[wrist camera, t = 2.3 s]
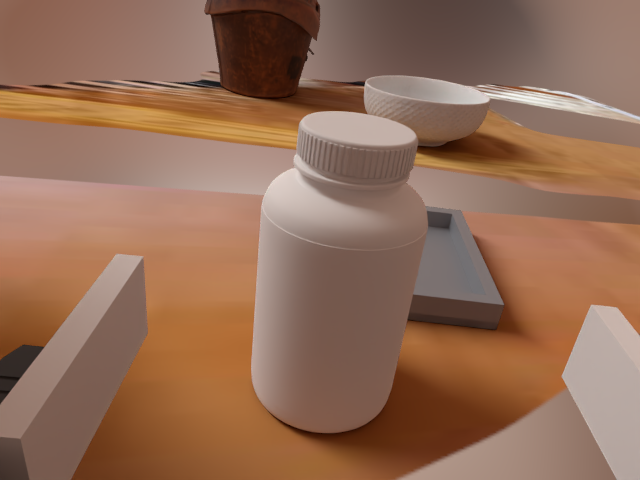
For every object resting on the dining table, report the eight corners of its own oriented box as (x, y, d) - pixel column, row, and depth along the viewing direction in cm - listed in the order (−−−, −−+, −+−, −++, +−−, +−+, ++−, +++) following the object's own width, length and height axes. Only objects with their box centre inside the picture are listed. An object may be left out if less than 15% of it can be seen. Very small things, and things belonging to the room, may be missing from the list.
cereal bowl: (467, 129, 83) (479, 83, 79) (487, 166, 68) (503, 111, 65) (359, 114, 83) (366, 67, 80) (356, 147, 68) (364, 92, 65)
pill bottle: (375, 339, 34) (422, 109, 27) (402, 440, 27) (476, 166, 20) (251, 335, 33) (267, 95, 26) (247, 438, 26) (267, 149, 19)
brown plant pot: (260, 110, 78) (270, -25, 70) (180, 80, 89) (180, -40, 81) (338, 99, 91) (354, -17, 82) (259, 74, 102) (266, -31, 93)
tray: (280, 304, 36) (282, 279, 35) (296, 211, 50) (299, 191, 49) (496, 329, 37) (504, 305, 36) (455, 230, 50) (460, 210, 49)
